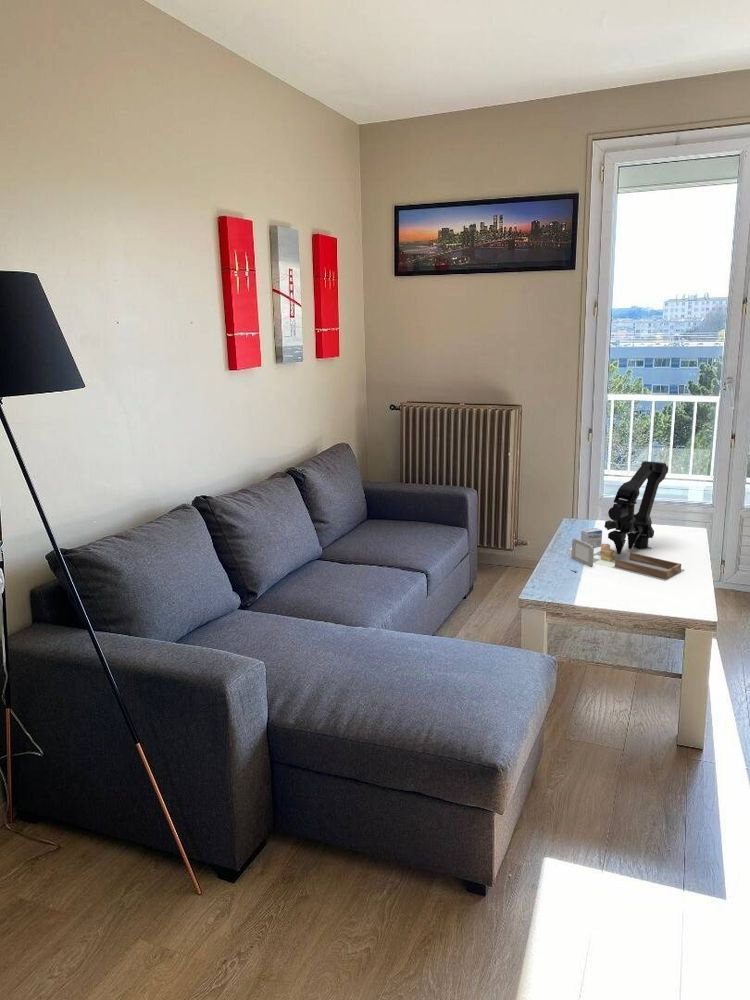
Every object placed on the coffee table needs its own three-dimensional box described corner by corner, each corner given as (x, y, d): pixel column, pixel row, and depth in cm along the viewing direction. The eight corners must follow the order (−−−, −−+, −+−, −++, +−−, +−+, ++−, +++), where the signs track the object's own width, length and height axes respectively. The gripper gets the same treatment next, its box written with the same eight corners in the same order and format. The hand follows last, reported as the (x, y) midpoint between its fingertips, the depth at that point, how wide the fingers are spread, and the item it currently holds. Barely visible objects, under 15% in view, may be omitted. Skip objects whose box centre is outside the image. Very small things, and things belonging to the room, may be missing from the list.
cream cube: (571, 555, 321) (572, 546, 320) (580, 556, 319) (581, 547, 318) (568, 558, 318) (569, 549, 317) (578, 559, 316) (578, 550, 315)
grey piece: (555, 563, 312) (556, 540, 309) (573, 560, 315) (574, 537, 313) (575, 573, 300) (576, 549, 298) (593, 569, 303) (595, 546, 301)
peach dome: (603, 552, 320) (604, 543, 319) (611, 554, 318) (611, 544, 317) (599, 554, 318) (599, 545, 317) (606, 556, 315) (607, 546, 314)
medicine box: (586, 551, 325) (587, 532, 323) (580, 548, 329) (581, 529, 327) (601, 549, 328) (602, 530, 326) (595, 546, 332) (596, 527, 330)
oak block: (605, 557, 314) (606, 548, 313) (614, 559, 311) (615, 550, 310) (600, 559, 311) (601, 550, 310) (609, 561, 308) (610, 552, 307)
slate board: (601, 553, 323) (602, 550, 323) (685, 572, 297) (685, 569, 297) (580, 562, 312) (580, 559, 311) (665, 584, 286) (665, 581, 286)
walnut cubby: (630, 559, 311) (630, 552, 310) (680, 571, 296) (681, 564, 295) (614, 566, 302) (615, 559, 302) (665, 579, 287) (666, 572, 286)
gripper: (620, 508, 325) (618, 542, 328) (597, 516, 312) (595, 552, 316) (644, 512, 317) (642, 547, 321) (622, 521, 304) (619, 558, 308)
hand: (624, 551), depth 317 cm, fingers open, 9 cm apart
